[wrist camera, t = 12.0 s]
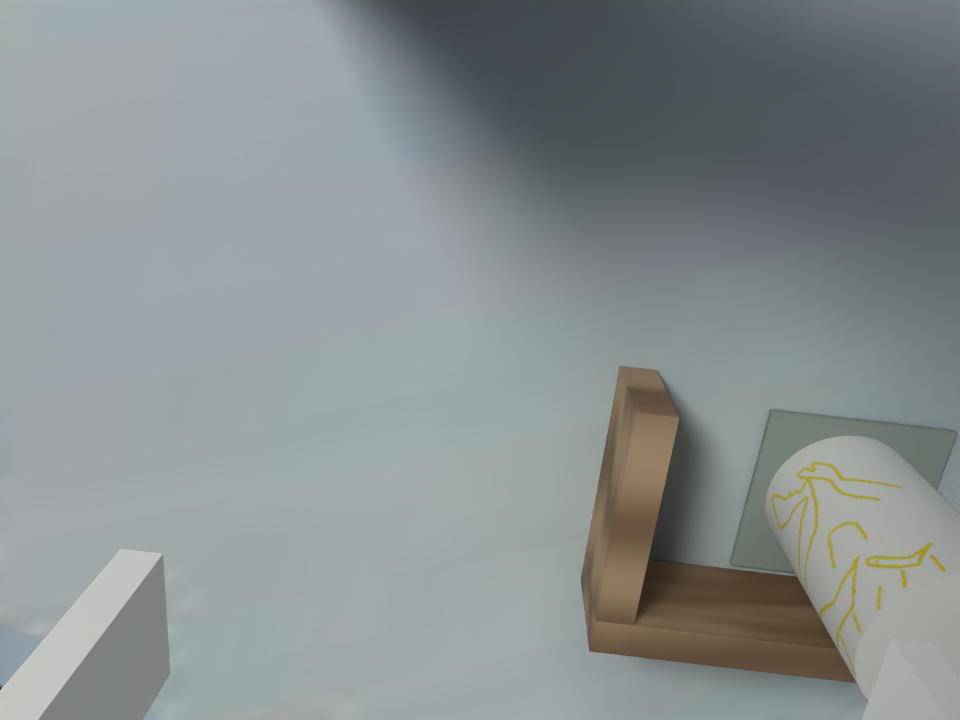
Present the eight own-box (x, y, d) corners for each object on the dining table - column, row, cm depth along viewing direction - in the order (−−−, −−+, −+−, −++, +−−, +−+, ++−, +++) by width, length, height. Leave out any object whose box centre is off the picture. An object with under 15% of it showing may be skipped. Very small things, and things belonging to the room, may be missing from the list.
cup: (818, 412, 40) (936, 542, 29) (945, 471, 41) (1107, 620, 29) (737, 527, 43) (815, 687, 31) (857, 580, 43) (975, 754, 32)
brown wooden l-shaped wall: (620, 366, 40) (636, 412, 34) (991, 408, 40) (1069, 462, 34) (580, 579, 45) (589, 651, 39) (910, 618, 45) (966, 695, 39)
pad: (770, 409, 40) (772, 411, 40) (954, 430, 40) (956, 432, 40) (729, 561, 44) (731, 564, 44) (898, 581, 44) (900, 584, 43)
